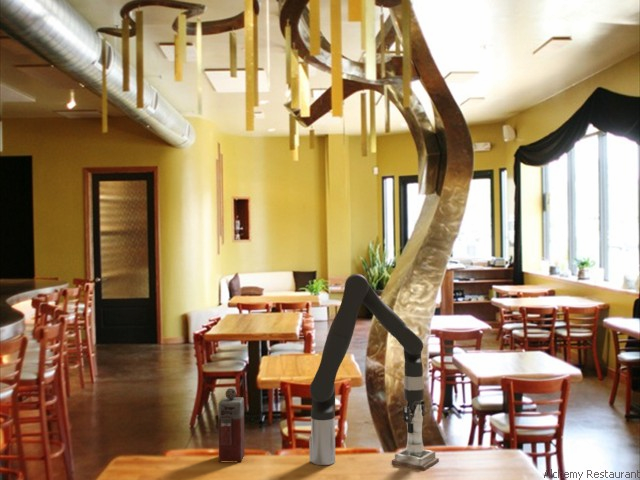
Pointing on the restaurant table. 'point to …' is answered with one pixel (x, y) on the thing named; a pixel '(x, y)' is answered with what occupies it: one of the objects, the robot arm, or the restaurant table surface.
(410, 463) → the socket board
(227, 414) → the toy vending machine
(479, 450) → the restaurant table surface
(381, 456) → the restaurant table surface
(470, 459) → the restaurant table surface
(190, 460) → the restaurant table surface
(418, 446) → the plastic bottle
